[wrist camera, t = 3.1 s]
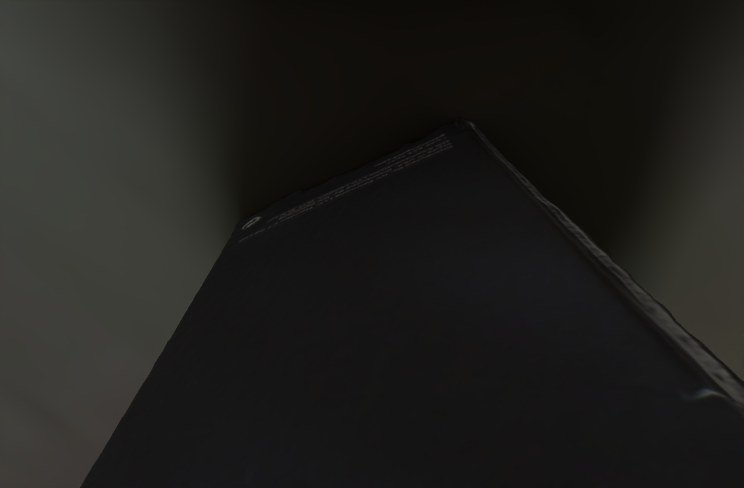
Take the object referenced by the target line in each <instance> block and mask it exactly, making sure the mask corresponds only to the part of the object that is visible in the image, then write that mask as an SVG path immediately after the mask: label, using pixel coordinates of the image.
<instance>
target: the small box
mask: <svg viewBox="0 0 744 488" xmlns="http://www.w3.org/2000/svg"><path fill="white" fill-rule="evenodd" d="M80 488H744V382H743V381H742V380H741V379H740V378H739V377H738V376H737V375H736V374H735V373H734V372H733V371H732V370H731V369H729V368H728V367H727V366H726V365H725V364H724V363H723V362H722V361H721V360H719V359H718V358H717V357H716V356H715V355H714V354H713V353H712V352H711V351H710V350H709V349H708V348H707V347H706V346H705V345H704V344H703V343H702V342H701V341H699V340H698V339H696V338H695V337H694V336H692V335H691V334H690V333H688V332H687V331H686V330H685V329H684V328H683V327H682V326H681V325H680V324H679V323H678V322H677V321H676V320H675V319H674V317H673V316H672V314H671V313H670V312H669V311H668V310H667V309H666V308H665V307H664V306H663V305H662V304H660V303H659V302H657V301H656V300H655V299H654V298H653V297H652V296H651V295H650V294H648V293H647V292H646V291H645V290H644V289H643V288H642V287H641V286H640V285H639V284H637V283H636V281H635V280H634V278H633V277H632V276H631V274H629V273H628V272H627V271H626V270H624V269H623V268H621V267H619V266H618V265H616V263H615V262H614V261H613V259H612V258H611V256H610V255H609V254H608V253H607V252H605V251H603V250H602V249H600V248H599V246H598V245H597V244H596V243H595V242H594V241H593V240H592V239H591V238H590V237H589V236H588V235H587V233H586V232H585V231H583V230H582V229H581V228H580V227H579V226H577V225H576V224H575V223H574V222H572V221H571V219H570V218H569V217H568V216H567V215H566V214H565V213H564V212H563V211H562V210H561V209H560V208H559V207H557V206H555V205H554V204H552V203H551V202H549V201H548V200H547V199H546V198H544V197H543V196H542V195H541V193H540V192H539V191H538V190H537V189H536V187H535V186H533V185H532V183H531V182H530V181H528V180H527V179H526V178H525V176H523V175H522V174H521V173H520V172H518V171H517V169H516V168H515V166H514V165H513V164H511V163H510V162H509V161H507V160H506V159H505V157H504V156H503V155H502V154H501V153H500V151H499V150H498V149H497V148H495V147H494V146H493V144H492V142H491V141H490V140H489V139H488V138H487V137H486V136H485V135H484V134H483V133H482V132H481V130H480V129H479V128H478V127H477V125H476V124H474V123H472V122H469V121H467V120H463V119H461V118H459V119H457V120H455V122H454V124H446V125H443V126H442V127H440V128H438V129H437V130H435V131H433V132H431V133H430V134H429V135H428V136H427V137H425V138H424V139H422V140H420V141H418V142H415V143H406V144H405V145H403V146H402V147H401V148H400V149H399V150H397V151H395V152H393V153H390V154H388V155H386V156H384V157H381V158H379V159H377V160H375V161H373V162H367V163H366V164H365V165H363V166H362V167H360V168H358V169H354V170H352V171H350V172H348V173H346V174H344V175H340V176H334V177H333V178H331V179H330V180H329V181H327V182H325V183H323V184H321V185H318V186H315V187H313V188H311V189H310V190H300V191H296V192H294V193H293V194H292V195H290V196H287V197H284V198H283V199H282V200H280V201H278V202H275V203H273V204H272V205H270V206H269V207H267V208H265V209H263V210H262V211H260V212H259V213H257V214H255V215H253V216H250V217H248V218H246V219H243V220H242V221H240V222H239V223H238V224H237V225H236V227H235V230H234V232H233V233H232V236H231V237H230V239H229V240H228V242H227V244H226V245H225V247H224V249H223V250H222V252H221V254H220V256H219V258H218V259H217V261H216V262H215V264H214V266H213V268H212V269H211V271H210V273H209V274H208V276H207V278H206V279H205V281H204V283H203V285H202V286H201V288H200V290H199V291H198V293H197V294H196V296H195V298H194V300H193V302H192V303H191V304H190V306H189V308H188V310H187V311H186V313H185V315H184V316H183V318H182V320H181V321H180V323H179V325H178V327H177V328H176V330H175V332H174V334H173V335H172V337H171V339H170V340H169V341H168V342H167V344H166V346H165V348H164V350H163V352H162V353H161V355H160V356H159V358H158V359H157V361H156V362H155V364H154V366H153V368H152V370H151V372H150V374H149V376H148V377H147V379H146V380H145V382H144V383H143V385H142V386H141V388H140V389H139V391H138V393H137V394H136V396H135V398H134V400H133V401H132V403H131V405H130V406H129V408H128V410H127V411H126V413H125V415H124V416H123V417H122V419H121V420H120V422H119V424H118V426H117V427H116V429H115V431H114V433H113V434H112V436H111V438H110V439H109V441H108V443H107V445H106V446H105V448H104V449H103V451H102V453H101V454H100V456H99V458H98V459H97V461H96V462H95V464H94V465H93V467H92V469H91V470H90V472H89V474H88V475H87V477H86V479H85V480H84V482H83V484H82V485H81V487H80Z"/></svg>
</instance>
